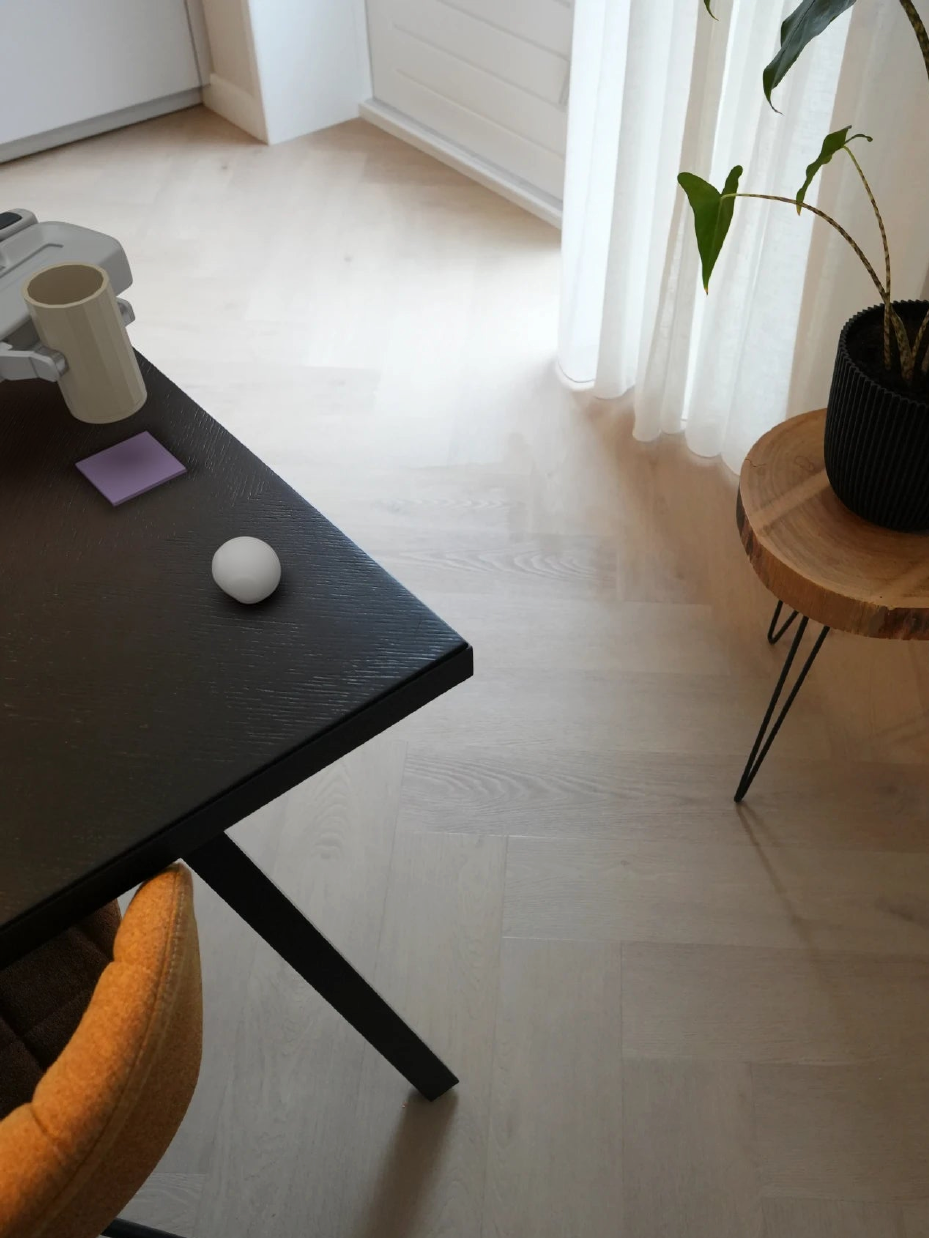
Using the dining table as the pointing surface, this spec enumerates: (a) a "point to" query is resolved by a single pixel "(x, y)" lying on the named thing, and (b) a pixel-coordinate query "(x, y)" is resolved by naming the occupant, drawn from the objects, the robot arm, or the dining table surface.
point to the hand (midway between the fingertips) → (94, 341)
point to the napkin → (130, 468)
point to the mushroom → (246, 569)
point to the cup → (86, 340)
